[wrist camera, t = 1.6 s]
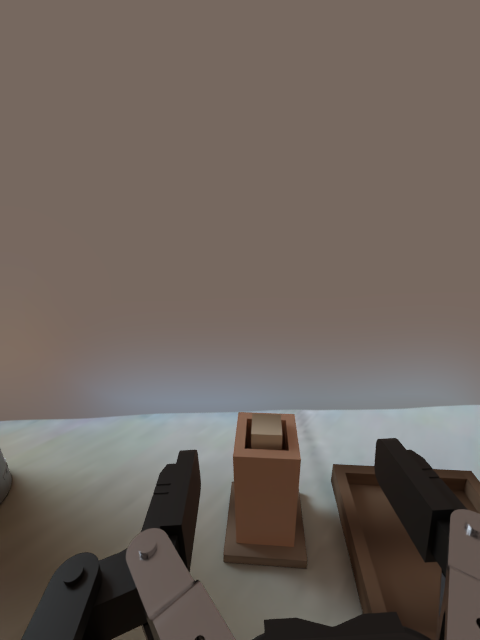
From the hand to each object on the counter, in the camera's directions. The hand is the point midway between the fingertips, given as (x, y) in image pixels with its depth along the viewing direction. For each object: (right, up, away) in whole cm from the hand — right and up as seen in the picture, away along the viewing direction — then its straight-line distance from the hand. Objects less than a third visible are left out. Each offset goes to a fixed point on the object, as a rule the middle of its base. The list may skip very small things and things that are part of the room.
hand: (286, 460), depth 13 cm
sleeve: (0, -12, +15) cm, 19 cm away
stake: (0, -13, +15) cm, 20 cm away
